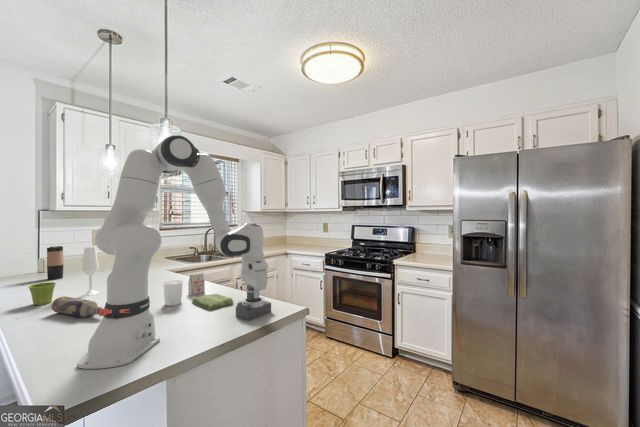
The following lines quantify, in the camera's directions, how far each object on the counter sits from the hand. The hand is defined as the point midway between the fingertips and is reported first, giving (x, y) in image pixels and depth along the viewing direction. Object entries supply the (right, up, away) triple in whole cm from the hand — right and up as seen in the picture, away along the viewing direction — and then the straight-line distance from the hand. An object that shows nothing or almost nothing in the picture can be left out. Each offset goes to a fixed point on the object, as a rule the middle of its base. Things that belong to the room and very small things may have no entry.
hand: (252, 295), depth 120 cm
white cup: (-40, -8, +13) cm, 43 cm away
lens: (0, -3, 0) cm, 3 cm away
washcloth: (-22, -8, +14) cm, 27 cm away
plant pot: (-100, -8, +14) cm, 102 cm away
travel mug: (-139, -7, +62) cm, 152 cm away
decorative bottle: (-71, -8, -2) cm, 72 cm away
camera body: (0, -8, 0) cm, 8 cm away
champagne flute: (-91, -7, +29) cm, 96 cm away
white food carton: (-36, -7, +30) cm, 47 cm away
